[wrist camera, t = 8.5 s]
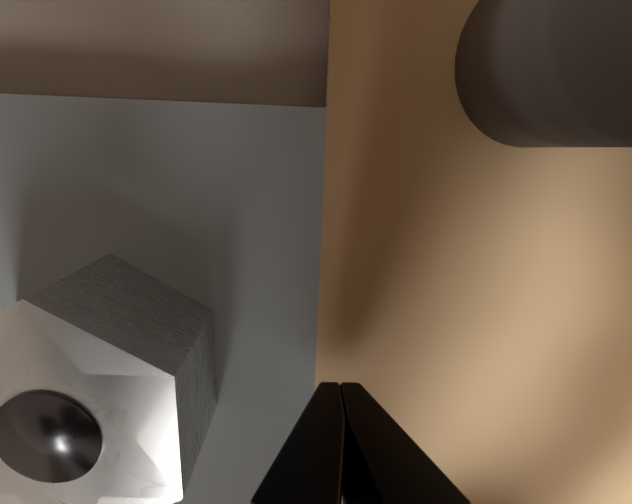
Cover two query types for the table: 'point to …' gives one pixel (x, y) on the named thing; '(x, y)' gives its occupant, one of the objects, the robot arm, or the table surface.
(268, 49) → the table surface
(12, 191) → the mat
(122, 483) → the hexagonal star candle holder
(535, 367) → the board
